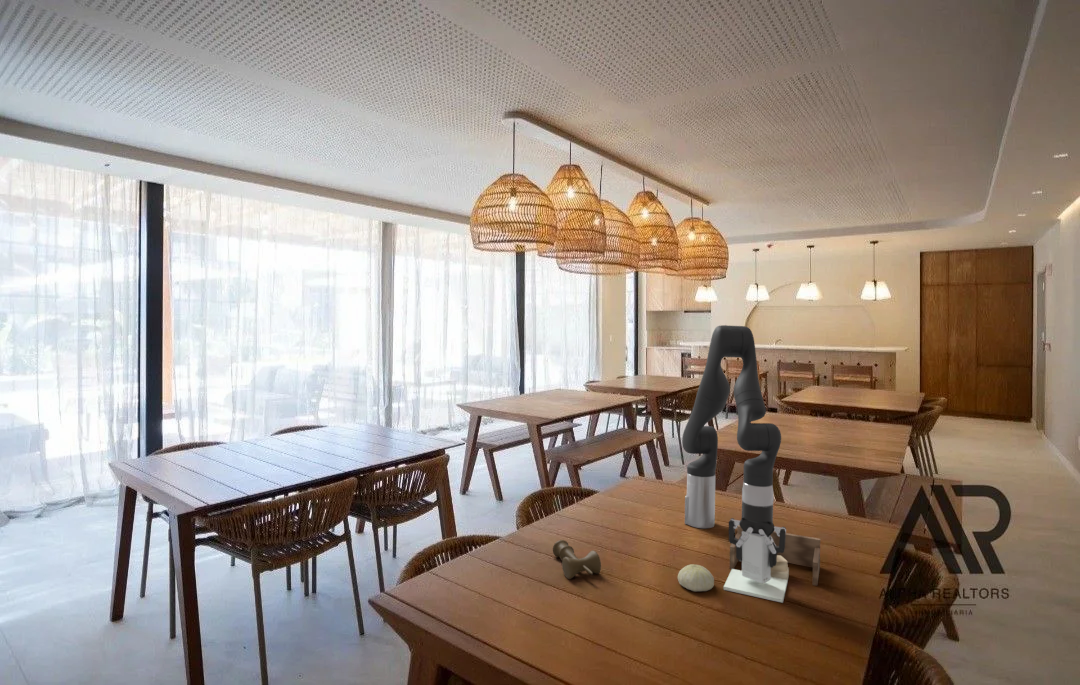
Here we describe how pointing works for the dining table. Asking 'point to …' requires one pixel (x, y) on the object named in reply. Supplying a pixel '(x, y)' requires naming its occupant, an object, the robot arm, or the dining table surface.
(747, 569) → the skincare box
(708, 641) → the dining table surface
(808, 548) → the screen
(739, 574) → the plate
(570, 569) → the kendama
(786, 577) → the offcut low
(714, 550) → the dining table surface
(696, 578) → the sea urchin shell
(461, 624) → the dining table surface
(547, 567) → the dining table surface
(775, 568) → the offcut top
